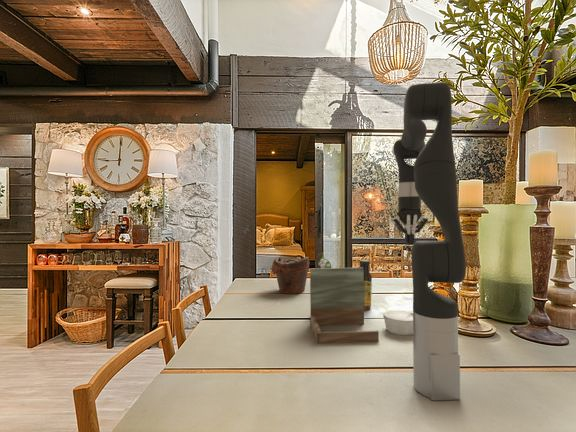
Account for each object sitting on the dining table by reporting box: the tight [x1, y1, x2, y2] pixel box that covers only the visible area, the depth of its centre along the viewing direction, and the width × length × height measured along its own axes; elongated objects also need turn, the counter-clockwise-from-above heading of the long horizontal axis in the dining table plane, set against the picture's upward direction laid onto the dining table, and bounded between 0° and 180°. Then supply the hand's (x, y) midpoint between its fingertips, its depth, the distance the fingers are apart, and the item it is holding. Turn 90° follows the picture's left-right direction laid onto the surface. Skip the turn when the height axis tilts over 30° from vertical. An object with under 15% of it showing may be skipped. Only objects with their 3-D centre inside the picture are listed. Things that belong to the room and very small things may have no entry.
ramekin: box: [382, 310, 413, 336], centre depth 112 cm, size 11×11×5 cm
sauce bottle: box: [359, 259, 373, 311], centre depth 139 cm, size 6×6×20 cm
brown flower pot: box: [270, 256, 311, 294], centre depth 171 cm, size 18×20×18 cm
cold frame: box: [309, 267, 380, 344], centre depth 111 cm, size 17×19×20 cm
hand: (409, 244), depth 118 cm, fingers closed
